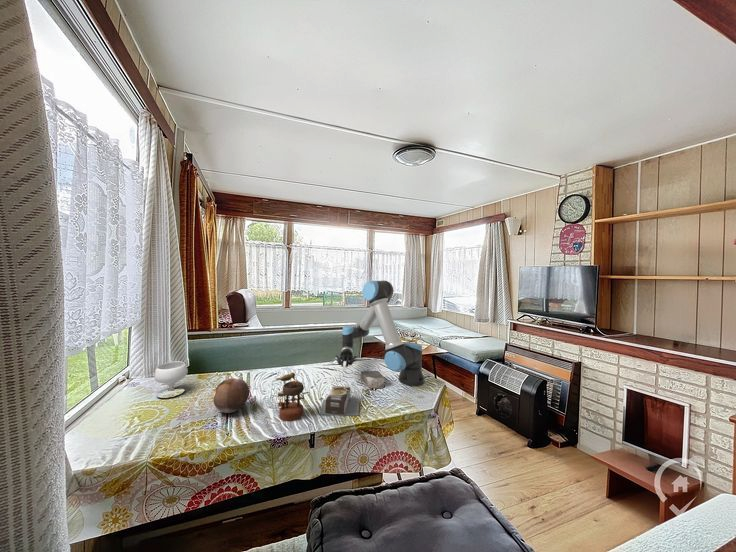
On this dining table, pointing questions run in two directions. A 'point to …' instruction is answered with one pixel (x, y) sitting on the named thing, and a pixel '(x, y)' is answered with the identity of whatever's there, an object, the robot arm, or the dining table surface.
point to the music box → (291, 409)
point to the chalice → (171, 373)
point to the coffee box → (337, 400)
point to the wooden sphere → (231, 395)
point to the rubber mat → (350, 410)
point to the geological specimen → (372, 379)
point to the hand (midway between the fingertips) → (344, 367)
